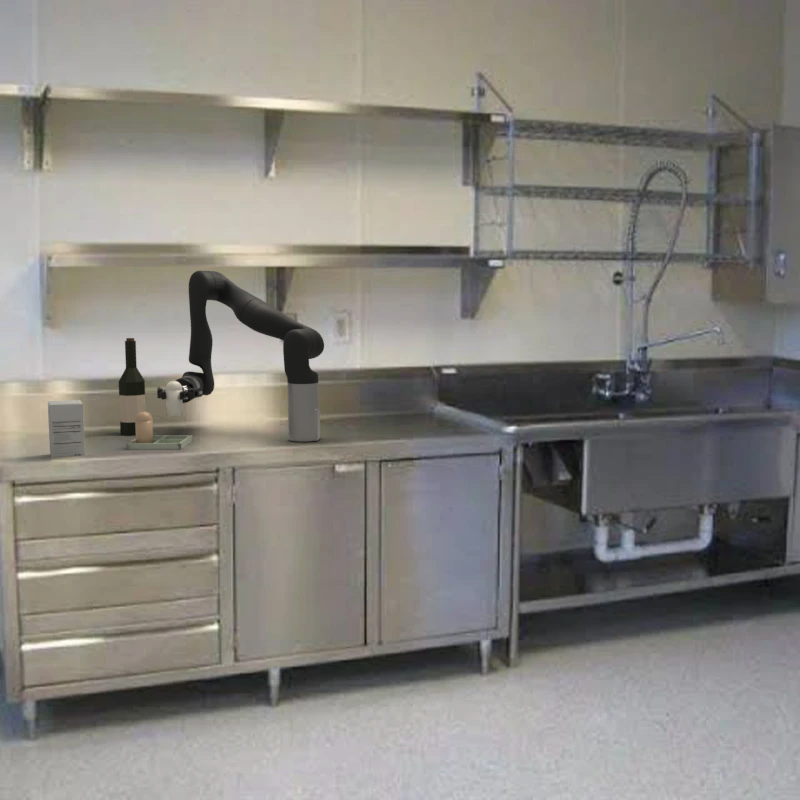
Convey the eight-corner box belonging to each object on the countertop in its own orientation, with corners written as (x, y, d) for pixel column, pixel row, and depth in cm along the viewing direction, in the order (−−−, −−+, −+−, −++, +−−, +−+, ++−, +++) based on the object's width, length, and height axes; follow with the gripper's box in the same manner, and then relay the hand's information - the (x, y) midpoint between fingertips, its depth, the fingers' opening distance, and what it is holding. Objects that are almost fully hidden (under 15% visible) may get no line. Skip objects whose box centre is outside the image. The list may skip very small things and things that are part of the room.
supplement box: (49, 454, 289) (47, 400, 287) (83, 452, 292) (81, 399, 290) (50, 459, 281) (48, 404, 279) (85, 457, 284) (83, 402, 282)
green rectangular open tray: (193, 442, 308) (192, 435, 308) (180, 451, 293) (180, 443, 293) (141, 442, 309) (141, 435, 308) (126, 451, 293) (126, 443, 293)
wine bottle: (124, 436, 320) (121, 339, 317) (116, 433, 327) (112, 338, 324) (151, 434, 325) (147, 338, 321) (141, 431, 332) (138, 337, 328)
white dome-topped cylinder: (184, 414, 306) (183, 379, 304) (180, 416, 301) (179, 381, 300) (168, 414, 306) (167, 379, 304) (164, 416, 301) (163, 381, 300)
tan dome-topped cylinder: (155, 445, 300) (154, 410, 298) (150, 448, 295) (149, 412, 294) (138, 445, 300) (137, 410, 298) (134, 448, 295) (132, 412, 294)
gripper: (161, 376, 316) (146, 382, 300) (208, 377, 316) (196, 383, 299) (162, 401, 317) (147, 408, 300) (209, 401, 317) (196, 409, 300)
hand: (171, 395), depth 300 cm, fingers closed on white dome-topped cylinder, 4 cm apart
